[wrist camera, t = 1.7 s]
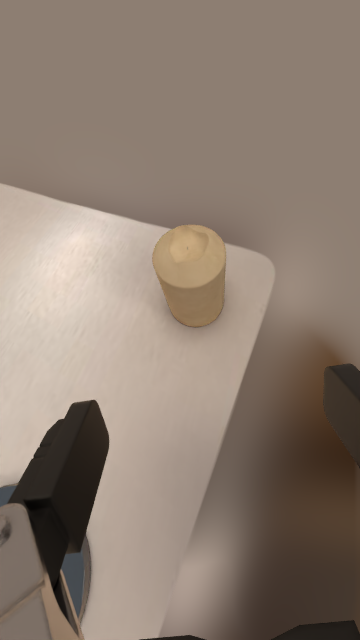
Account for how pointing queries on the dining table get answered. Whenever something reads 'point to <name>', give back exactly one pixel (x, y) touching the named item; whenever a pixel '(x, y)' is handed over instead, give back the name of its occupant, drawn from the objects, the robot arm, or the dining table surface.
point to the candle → (191, 273)
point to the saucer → (68, 565)
